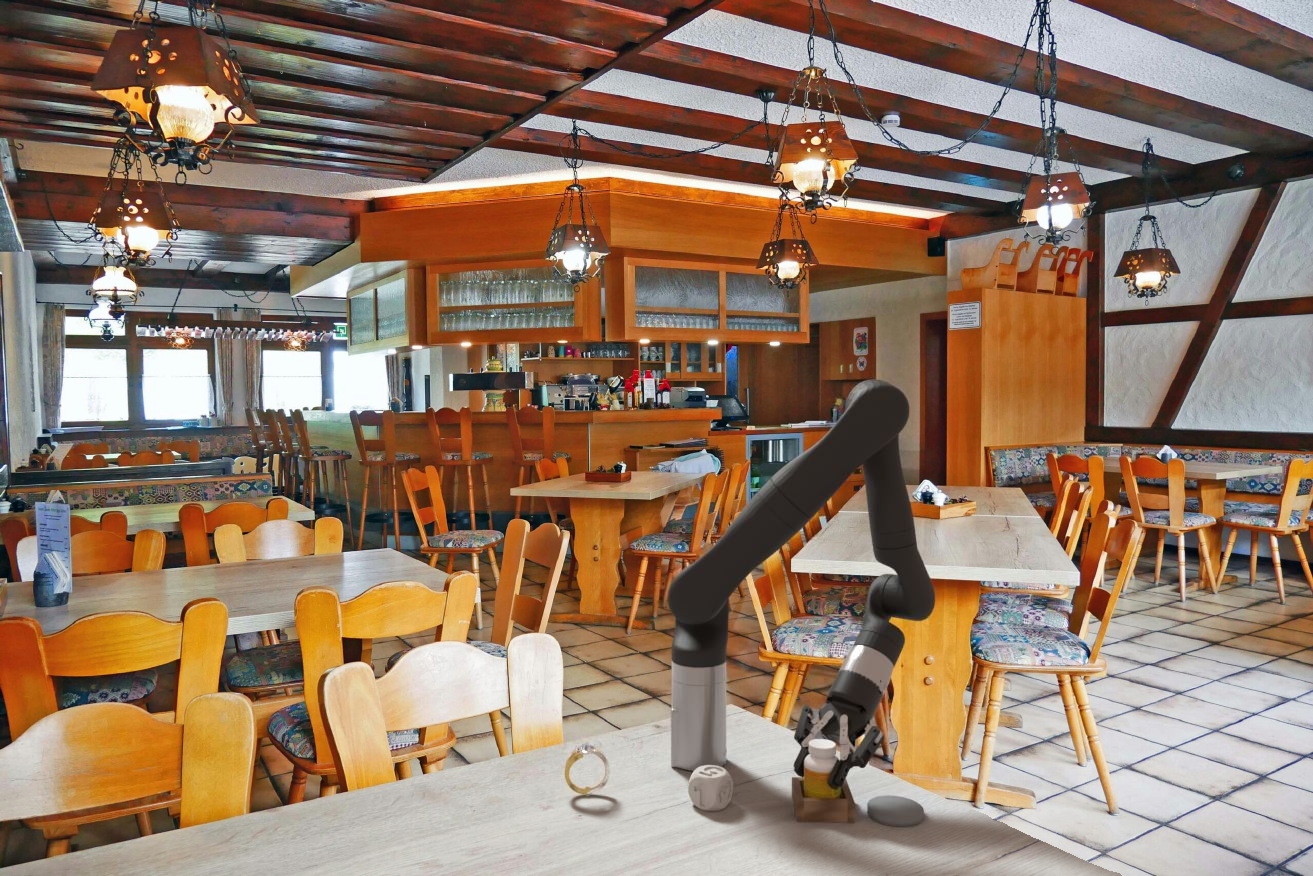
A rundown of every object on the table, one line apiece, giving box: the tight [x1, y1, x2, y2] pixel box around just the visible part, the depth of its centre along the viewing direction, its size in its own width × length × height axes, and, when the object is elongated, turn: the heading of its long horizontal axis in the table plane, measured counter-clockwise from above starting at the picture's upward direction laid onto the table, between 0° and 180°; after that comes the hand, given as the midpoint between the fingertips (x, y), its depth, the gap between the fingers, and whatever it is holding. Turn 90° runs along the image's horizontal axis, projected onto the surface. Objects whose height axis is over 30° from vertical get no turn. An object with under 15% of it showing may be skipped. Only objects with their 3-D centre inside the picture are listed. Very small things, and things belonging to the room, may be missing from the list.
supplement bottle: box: [804, 739, 841, 799], centre depth 131 cm, size 5×5×10 cm
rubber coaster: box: [866, 794, 925, 828], centre depth 129 cm, size 8×8×1 cm
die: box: [687, 765, 734, 812], centre depth 133 cm, size 5×5×5 cm
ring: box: [564, 741, 611, 797], centre depth 136 cm, size 7×3×8 cm, turn 93°
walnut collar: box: [791, 776, 856, 824], centre depth 131 cm, size 8×8×3 cm
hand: (815, 780), depth 130 cm, fingers closed on supplement bottle, 5 cm apart
